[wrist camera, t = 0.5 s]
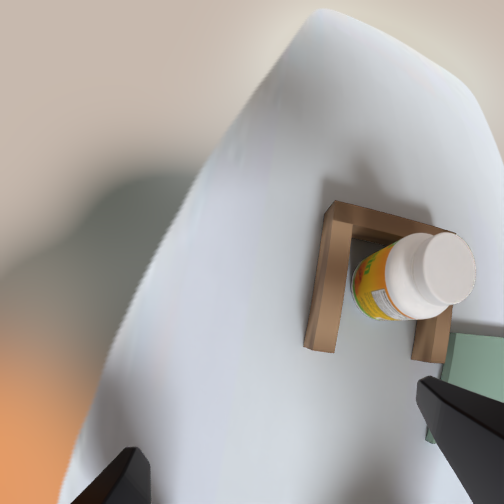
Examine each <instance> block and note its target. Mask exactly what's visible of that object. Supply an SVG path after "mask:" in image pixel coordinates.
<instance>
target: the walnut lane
mask: <svg viewBox="0 0 504 504" xmlns="http://www.w3.org/2000/svg"><path fill="white" fill-rule="evenodd" d="M443 232H449V233H453V234H456V233H454V232H451V231H448V230H444V229H441V228H438V227H434V226H431V225H427V224H424V223H420V222H417V221H413V220H410V219H406V218H402V217H399V216H395V215H391V214H388V213H384V212H380V211H376V210H372V209H368V208H364V207H360V206H356V205H352V204H348V203H344V202H340V201H336V200H335V201H334V202H333V204H332V205H331V206H330V207H329V209H328V210H327V211H326V212H325V214H324V221H323V229H322V236H321V244H320V251H319V258H318V264H317V271H316V277H315V284H314V290H313V296H312V302H311V308H310V313H309V319H308V325H307V330H306V336H305V341H304V346H303V347H306V348H308V349H311V350H314V351H321V352H328V353H334V351H335V346H336V340H337V335H338V329H339V323H340V317H341V311H342V305H343V298H344V291H345V284H346V277H347V270H348V262H349V254H350V245H351V238H355V239H359V240H364V241H368V242H372V243H377V244H381V245H385V246H389V245H391V244H393V243H395V242H396V241H398V240H400V239H402V238H404V237H406V236H408V235H411V234H415V233H427V234H431V235H433V236H434V235H436V234H439V233H443ZM452 308H453V305H449V306H448V307H447V309H446V310H444V311H443V312H442V313H441V314H439V315H437V316H435V317H432V318H428V319H418V320H417V326H416V333H415V339H414V346H413V352H412V357H411V359H412V360H418V361H423V362H429V363H445V359H446V353H447V347H448V341H449V333H450V326H451V317H452Z"/></svg>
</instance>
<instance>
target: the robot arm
mask: <svg viewBox="0 0 504 504" xmlns="http://www.w3.org/2000/svg"><path fill="white" fill-rule="evenodd" d="M416 401H417V405H418V407H419V409H420V411H421V413H422V415H423V417H424V419H425V421H426V423H427V426H428V428H429V430H430V432H431V434H432V436H433V438H434V440H435V442H436V443H437V445H438V446H439V448H440V450H441V451H442V453H443V454H444V456H445V458H446V459H447V461H448V462H449V464H450V466H451V467H452V469H453V470H454V472H455V474H456V475H457V477H458V479H459V480H460V482H461V483H462V485H463V487H464V488H465V490H466V492H467V493H468V495H469V497H470V499H471V500H472V502H473V504H504V403H503V402H500V401H498V400H495V399H492V398H489V397H486V396H483V395H481V394H478V393H475V392H472V391H470V390H467V389H464V388H461V387H459V386H456V385H453V384H451V383H448V382H445V381H443V380H440V379H438V378H435V377H432V376H427V377H424V378H422V379H420V380H419V381H418V383H417V394H416ZM71 504H151V482H150V464H149V461H148V460H147V459H146V457H145V456H144V454H143V453H142V452H141V450H140V449H139V448H138V447H126V448H125V449H123V451H122V452H121V453H120V454H119V455H118V456H117V457H116V458H115V459H114V460H113V461H112V462H111V463H110V464H109V465H108V466H107V467H106V468H105V469H104V470H103V471H102V472H101V473H100V474H99V475H98V476H97V477H96V478H95V479H94V481H93V482H92V483H91V484H90V485H89V486H88V487H87V488H86V489H85V490H84V491H83V492H82V493H81V494H80V495H79V496H78V497H77V498H76V499H75V500H74V501H73V502H72V503H71Z"/></svg>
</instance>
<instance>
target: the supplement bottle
mask: <svg viewBox="0 0 504 504" xmlns="http://www.w3.org/2000/svg"><path fill="white" fill-rule="evenodd" d="M475 278H476V265H475V260H474V257H473V254H472V252H471V250H470V248H469V246H468V245H467V243H466V242H465V241H464V240H463V239H462V238H461V237H459V236H458V235H456V234H453V233H449V232H443V233H439V234H436V235H434V236H433V235H431V234H427V233H415V234H411V235H408V236H406V237H404V238H402V239H400V240H398V241H396V242H395V243H393V244H391V245H389V246H387V247H385V248H383V249H381V250H379V251H377V252H375V253H373V254H371V255H369V256H368V257H366V258H365V259H363V260H362V261H361V262H360V263H359V264H358V266H357V267H356V269H355V271H354V273H353V277H352V282H351V291H352V296H353V299H354V301H355V303H356V305H357V307H358V308H359V309H360V311H361V312H362V313H363V314H365V315H366V316H368V317H370V318H372V319H375V320H382V321H389V320H418V319H428V318H432V317H435V316H437V315H439V314H441V313H442V312H443V311H444V310H446V309H447V307H448V306H449V305H453V304H458V303H460V302H462V301H463V300H464V299H466V298H467V297H468V295H469V294H470V292H471V291H472V289H473V286H474V283H475Z"/></svg>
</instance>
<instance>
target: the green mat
mask: <svg viewBox="0 0 504 504" xmlns="http://www.w3.org/2000/svg"><path fill="white" fill-rule="evenodd" d="M441 380H443V381H445V382H448V383H451V384H453V385H456V386H459V387H461V388H464V389H467V390H470V391H472V392H475V393H478V394H481V395H483V396H486V397H489V398H492V399H495V400H498V401H500V402H503V403H504V338H503V337H492V336H482V335H472V334H462V333H449V341H448V347H447V353H446V359H445V363H444V365H443V371H442V376H441ZM426 441H428V442H430V443H432V444H435V443H436V442H435V440H434V438H433V436H432V434H431V432H430V430H428V433H427V436H426Z"/></svg>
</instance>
